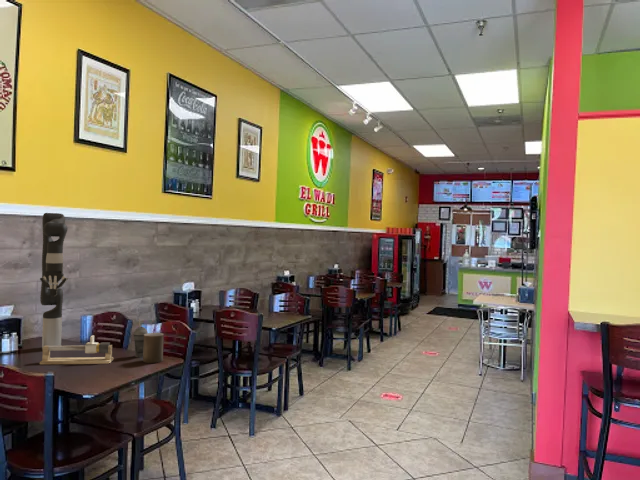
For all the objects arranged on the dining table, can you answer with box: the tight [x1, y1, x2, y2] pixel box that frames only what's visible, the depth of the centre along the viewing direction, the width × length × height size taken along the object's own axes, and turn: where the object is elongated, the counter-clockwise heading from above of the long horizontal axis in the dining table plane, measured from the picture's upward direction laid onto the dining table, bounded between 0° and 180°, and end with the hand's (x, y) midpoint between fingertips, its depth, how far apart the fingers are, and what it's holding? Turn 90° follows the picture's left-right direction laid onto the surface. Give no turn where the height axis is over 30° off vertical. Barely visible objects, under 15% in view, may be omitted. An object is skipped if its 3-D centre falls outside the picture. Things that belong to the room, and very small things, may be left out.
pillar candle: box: [142, 332, 164, 364], centre depth 250 cm, size 10×10×15 cm
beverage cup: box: [133, 318, 148, 358], centre depth 258 cm, size 7×7×20 cm
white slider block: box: [84, 335, 100, 354], centre depth 244 cm, size 5×5×8 cm
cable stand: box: [39, 341, 114, 365], centre depth 243 cm, size 8×32×9 cm, turn 101°
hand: (53, 296), depth 246 cm, fingers closed
